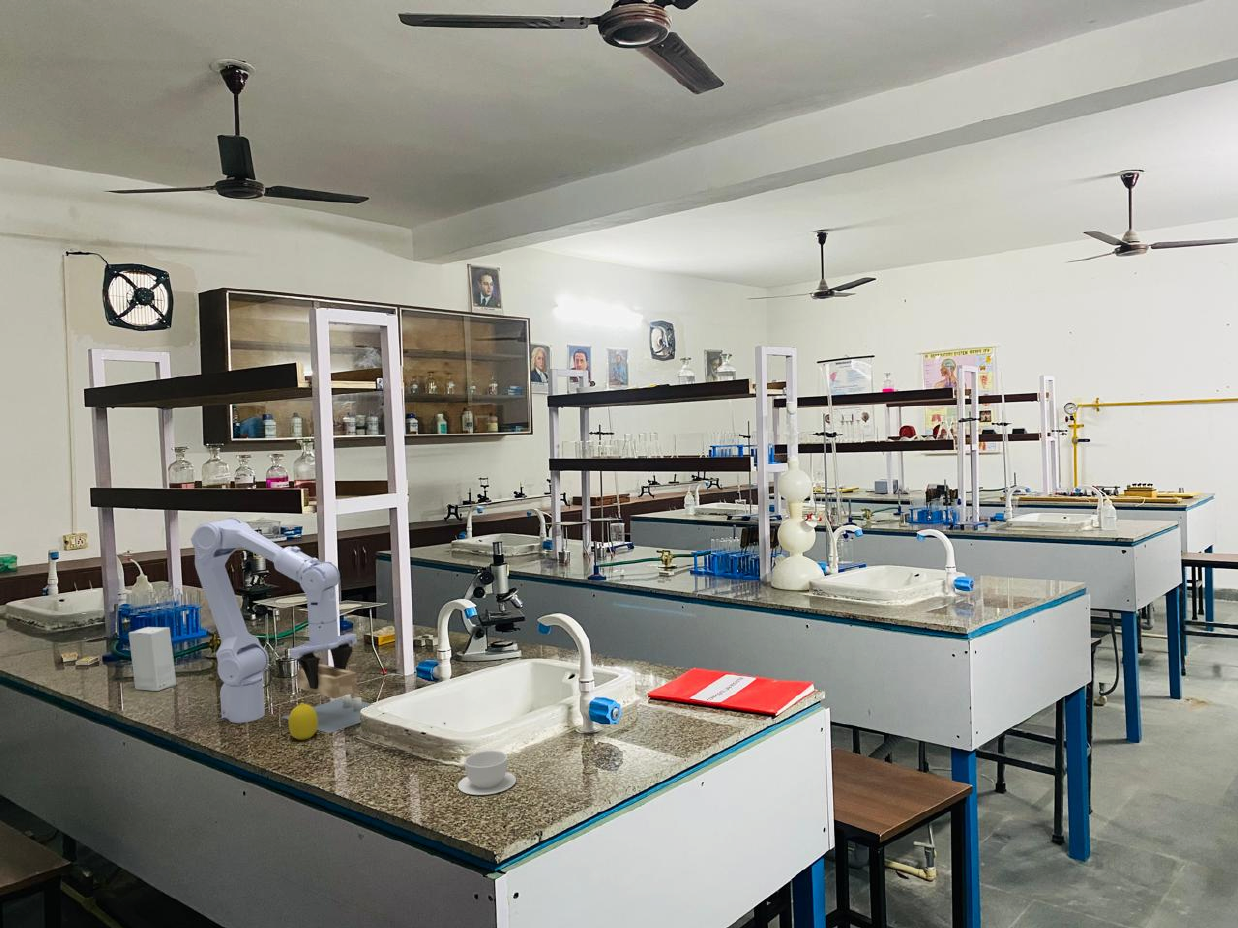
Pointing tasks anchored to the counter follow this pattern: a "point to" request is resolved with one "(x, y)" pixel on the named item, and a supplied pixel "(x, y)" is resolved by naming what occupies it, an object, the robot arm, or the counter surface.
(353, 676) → the open wooden crate
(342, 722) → the board
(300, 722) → the lemon
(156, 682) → the skincare box
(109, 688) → the counter surface
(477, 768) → the teacup
